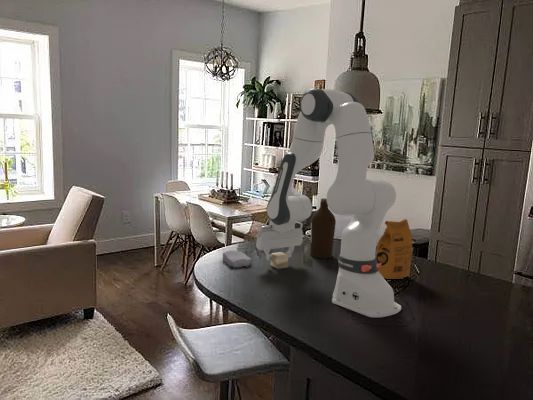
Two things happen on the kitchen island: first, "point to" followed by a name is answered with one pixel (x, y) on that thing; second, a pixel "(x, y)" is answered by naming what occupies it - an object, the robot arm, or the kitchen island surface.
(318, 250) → the olive oil
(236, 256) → the stone block
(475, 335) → the kitchen island surface
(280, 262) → the maple block
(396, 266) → the coffee package
